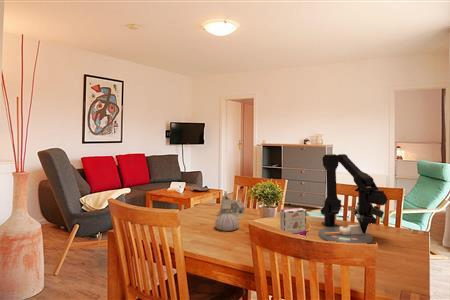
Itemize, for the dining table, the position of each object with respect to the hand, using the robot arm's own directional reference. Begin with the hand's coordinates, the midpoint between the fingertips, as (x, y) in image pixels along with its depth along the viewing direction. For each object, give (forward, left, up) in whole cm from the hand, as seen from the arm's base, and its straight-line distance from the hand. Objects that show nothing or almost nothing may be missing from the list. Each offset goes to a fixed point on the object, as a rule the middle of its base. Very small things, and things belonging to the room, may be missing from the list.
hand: (364, 233), depth 152 cm
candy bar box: (+5, -37, -3) cm, 38 cm away
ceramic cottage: (-49, -60, -3) cm, 77 cm away
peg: (-3, -8, -1) cm, 8 cm away
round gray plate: (-3, -8, -2) cm, 9 cm away
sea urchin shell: (-22, -65, -3) cm, 69 cm away
